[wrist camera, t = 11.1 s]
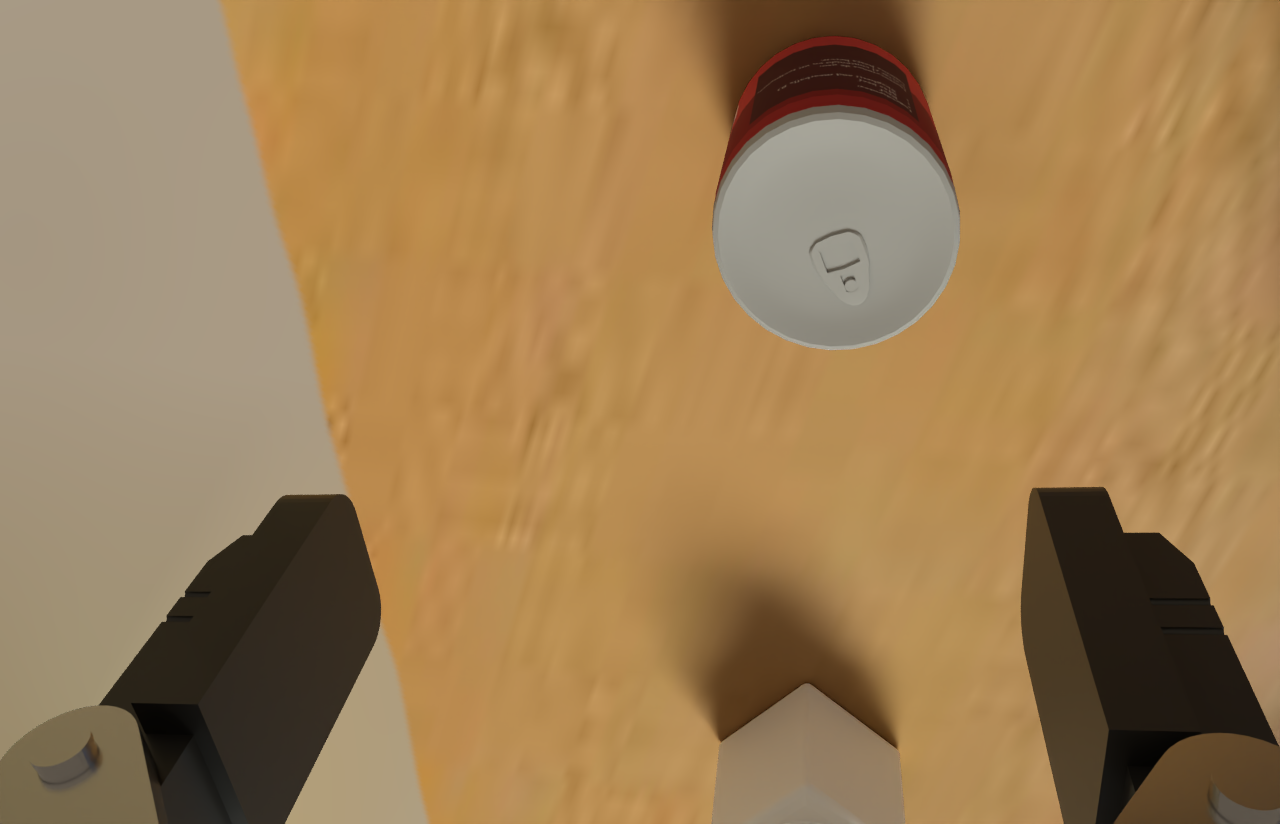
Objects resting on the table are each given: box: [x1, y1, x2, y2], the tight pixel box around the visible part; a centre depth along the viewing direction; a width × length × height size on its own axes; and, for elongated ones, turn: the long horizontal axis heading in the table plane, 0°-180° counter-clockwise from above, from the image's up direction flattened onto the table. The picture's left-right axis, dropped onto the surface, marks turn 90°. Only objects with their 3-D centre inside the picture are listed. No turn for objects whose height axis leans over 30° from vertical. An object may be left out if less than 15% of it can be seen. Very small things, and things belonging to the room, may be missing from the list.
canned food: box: [712, 36, 960, 350], centre depth 39 cm, size 8×8×11 cm
